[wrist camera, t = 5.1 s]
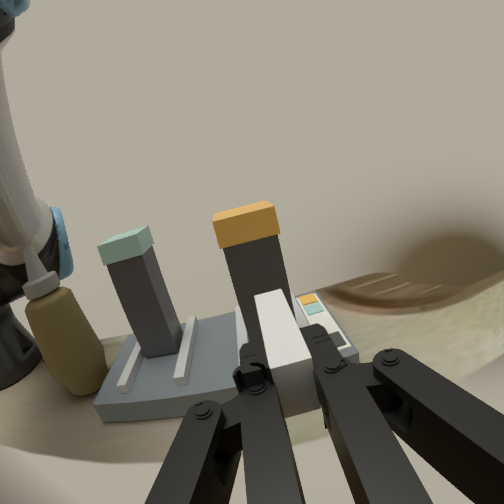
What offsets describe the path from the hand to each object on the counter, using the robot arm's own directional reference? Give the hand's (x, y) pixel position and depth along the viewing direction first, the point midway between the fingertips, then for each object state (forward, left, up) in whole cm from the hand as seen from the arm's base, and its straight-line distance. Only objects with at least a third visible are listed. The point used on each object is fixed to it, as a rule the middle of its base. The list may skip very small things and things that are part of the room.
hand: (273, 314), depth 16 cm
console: (-12, +6, -11) cm, 17 cm away
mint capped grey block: (-18, +4, -8) cm, 20 cm away
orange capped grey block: (-5, +6, -8) cm, 12 cm away
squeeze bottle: (-26, -4, -11) cm, 29 cm away
